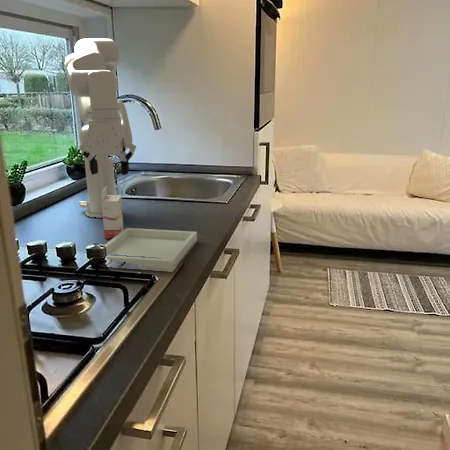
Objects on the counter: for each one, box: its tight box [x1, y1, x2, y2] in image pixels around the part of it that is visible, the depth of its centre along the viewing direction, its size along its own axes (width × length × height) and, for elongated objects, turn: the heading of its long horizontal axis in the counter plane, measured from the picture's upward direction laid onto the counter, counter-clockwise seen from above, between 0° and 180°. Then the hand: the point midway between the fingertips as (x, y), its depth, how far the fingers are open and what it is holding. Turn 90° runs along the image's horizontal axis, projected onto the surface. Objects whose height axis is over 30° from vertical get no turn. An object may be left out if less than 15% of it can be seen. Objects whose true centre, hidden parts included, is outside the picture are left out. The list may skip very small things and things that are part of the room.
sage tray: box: [103, 227, 198, 269], centre depth 132 cm, size 22×24×3 cm
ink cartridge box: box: [102, 186, 124, 240], centre depth 147 cm, size 9×5×15 cm, turn 5°
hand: (109, 174), depth 143 cm, fingers open, 9 cm apart
